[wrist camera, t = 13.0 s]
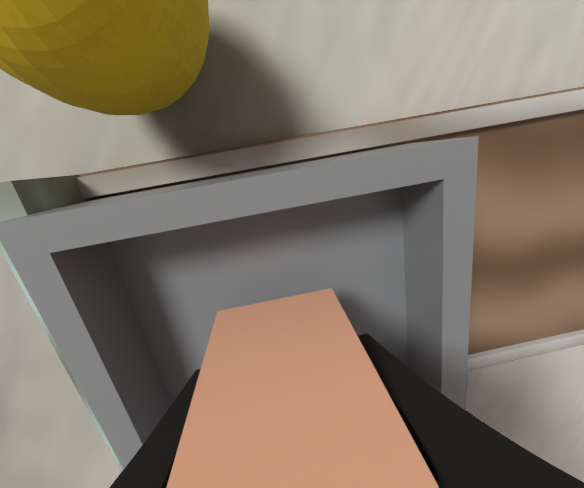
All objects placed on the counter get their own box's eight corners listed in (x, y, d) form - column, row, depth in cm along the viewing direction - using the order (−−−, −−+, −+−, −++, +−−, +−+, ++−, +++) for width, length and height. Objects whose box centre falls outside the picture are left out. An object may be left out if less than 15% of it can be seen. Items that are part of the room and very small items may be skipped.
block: (343, 377, 11) (437, 627, 5) (243, 399, 10) (221, 686, 5) (331, 288, 9) (439, 487, 4) (217, 310, 9) (145, 558, 4)
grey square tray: (410, 367, 15) (463, 442, 11) (180, 418, 15) (149, 516, 11) (402, 143, 11) (478, 135, 7) (91, 199, 11) (-9, 224, 7)
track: (592, 325, 17) (686, 372, 13) (167, 419, 16) (137, 501, 12) (647, 76, 13) (810, 42, 9) (64, 178, 11) (-33, 188, 8)
